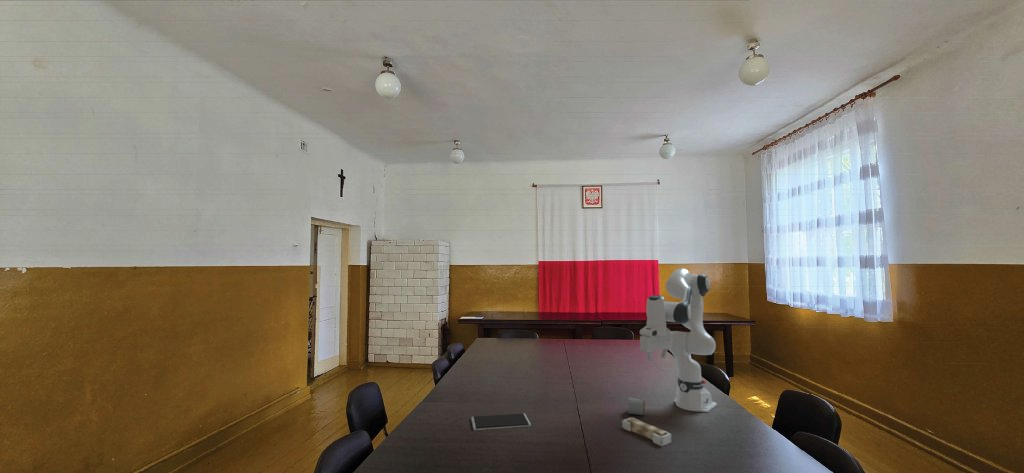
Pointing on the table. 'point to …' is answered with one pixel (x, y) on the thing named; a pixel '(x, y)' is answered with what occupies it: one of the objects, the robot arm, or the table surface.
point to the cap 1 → (627, 424)
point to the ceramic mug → (636, 406)
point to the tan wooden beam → (645, 429)
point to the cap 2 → (662, 439)
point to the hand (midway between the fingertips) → (657, 359)
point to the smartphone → (499, 421)
